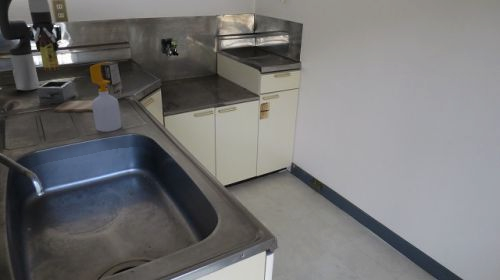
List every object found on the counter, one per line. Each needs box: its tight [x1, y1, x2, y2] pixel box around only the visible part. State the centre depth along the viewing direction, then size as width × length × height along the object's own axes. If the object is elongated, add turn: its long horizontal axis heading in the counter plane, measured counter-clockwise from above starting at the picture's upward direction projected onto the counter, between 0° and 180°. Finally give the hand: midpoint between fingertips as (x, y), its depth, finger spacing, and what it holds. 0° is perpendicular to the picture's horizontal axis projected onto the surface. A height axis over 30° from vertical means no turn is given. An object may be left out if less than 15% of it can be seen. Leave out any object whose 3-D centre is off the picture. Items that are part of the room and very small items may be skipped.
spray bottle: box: [89, 61, 122, 133], centre depth 139 cm, size 9×9×25 cm
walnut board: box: [54, 100, 93, 113], centre depth 165 cm, size 16×12×1 cm
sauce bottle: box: [39, 25, 60, 72], centre depth 167 cm, size 6×6×20 cm
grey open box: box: [36, 80, 76, 104], centre depth 173 cm, size 11×16×7 cm
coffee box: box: [94, 60, 125, 100], centre depth 176 cm, size 9×6×16 cm
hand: (48, 50), depth 167 cm, fingers closed on sauce bottle, 6 cm apart
